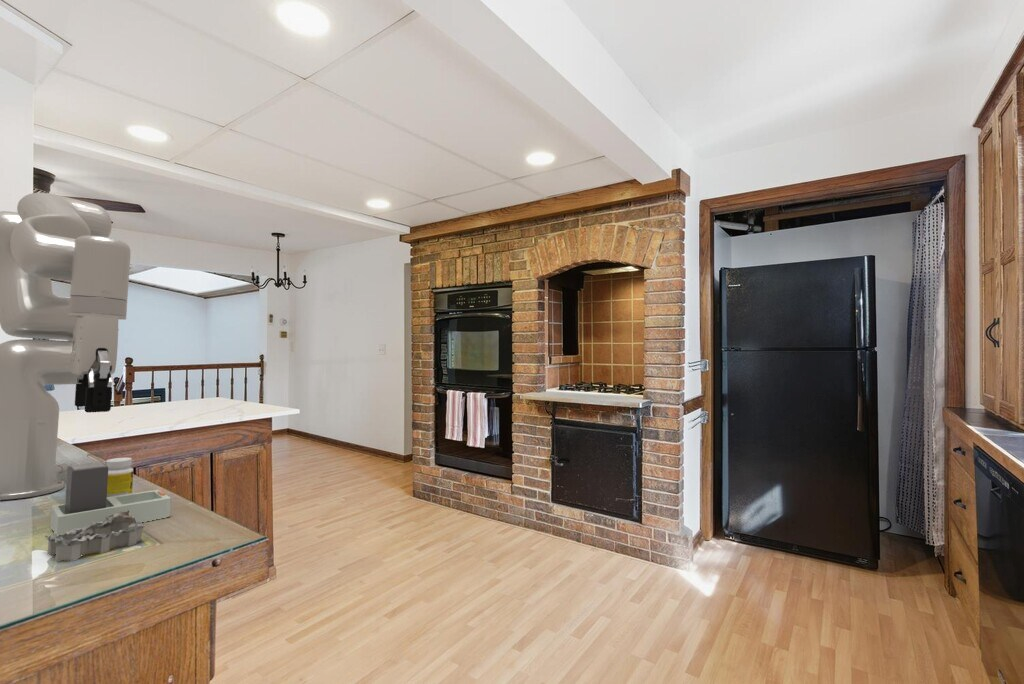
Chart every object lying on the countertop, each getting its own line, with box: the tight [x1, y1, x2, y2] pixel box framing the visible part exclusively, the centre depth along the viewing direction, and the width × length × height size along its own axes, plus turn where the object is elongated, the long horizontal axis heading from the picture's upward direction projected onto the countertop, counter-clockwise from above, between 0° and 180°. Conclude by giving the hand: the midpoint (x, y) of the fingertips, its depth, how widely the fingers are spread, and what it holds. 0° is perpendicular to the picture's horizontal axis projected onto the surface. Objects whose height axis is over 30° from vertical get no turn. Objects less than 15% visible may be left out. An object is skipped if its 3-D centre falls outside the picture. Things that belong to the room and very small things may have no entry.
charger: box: [64, 461, 108, 515], centre depth 81 cm, size 5×5×8 cm
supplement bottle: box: [105, 457, 134, 497], centre depth 94 cm, size 5×5×8 cm
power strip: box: [49, 489, 172, 535], centre depth 84 cm, size 15×8×4 cm, turn 140°
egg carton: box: [45, 510, 146, 562], centre depth 73 cm, size 11×8×4 cm
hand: (91, 408), depth 82 cm, fingers open, 9 cm apart
